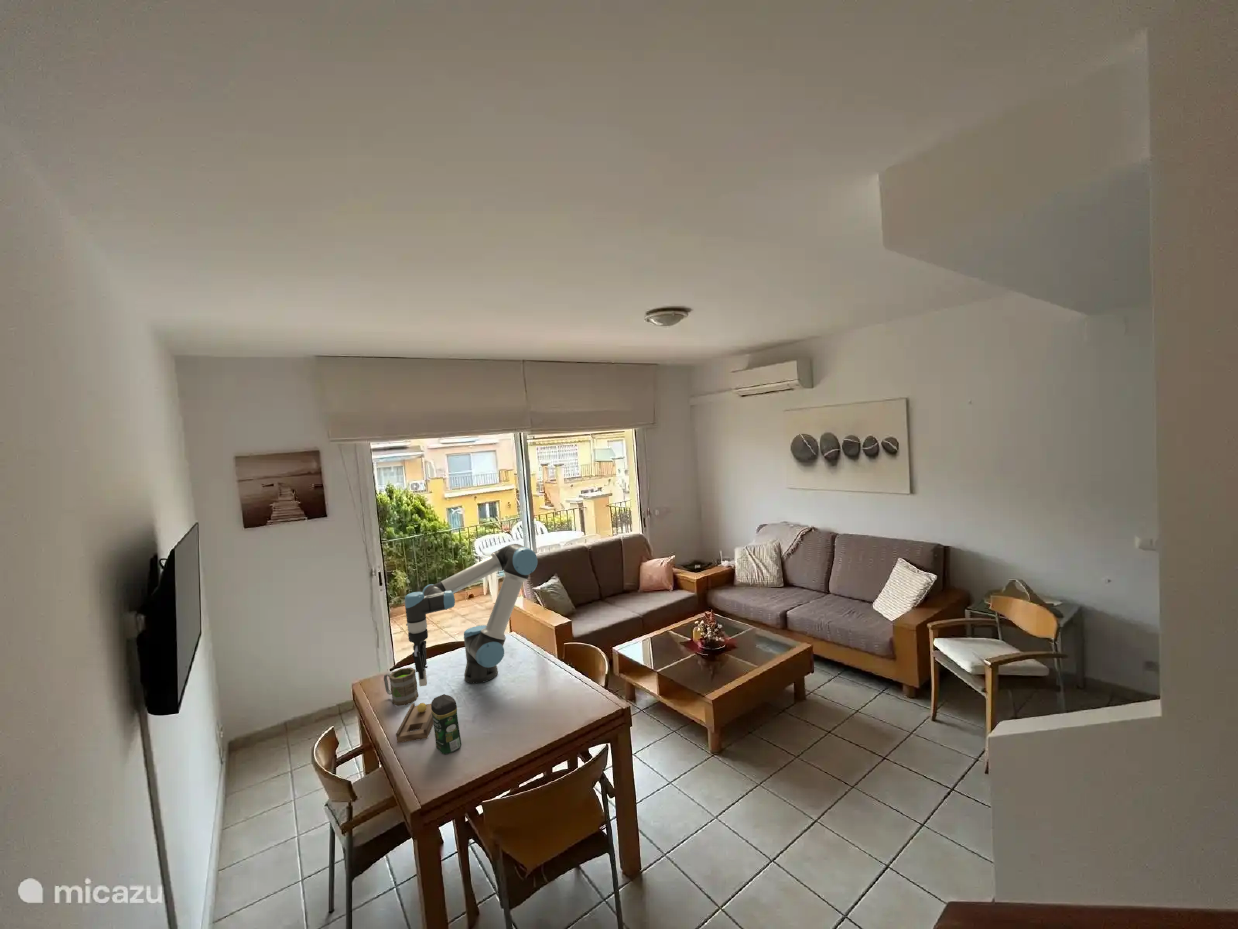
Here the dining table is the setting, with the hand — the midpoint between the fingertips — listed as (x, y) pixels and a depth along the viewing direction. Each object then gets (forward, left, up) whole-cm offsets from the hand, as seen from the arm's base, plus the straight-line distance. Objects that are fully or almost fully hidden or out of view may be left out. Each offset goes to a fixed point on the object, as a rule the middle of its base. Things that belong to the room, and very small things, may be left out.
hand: (423, 685), depth 219 cm
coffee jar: (-15, +31, -11) cm, 36 cm away
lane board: (0, +12, -10) cm, 16 cm away
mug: (+14, -12, -11) cm, 21 cm away
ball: (0, +7, -6) cm, 9 cm away
